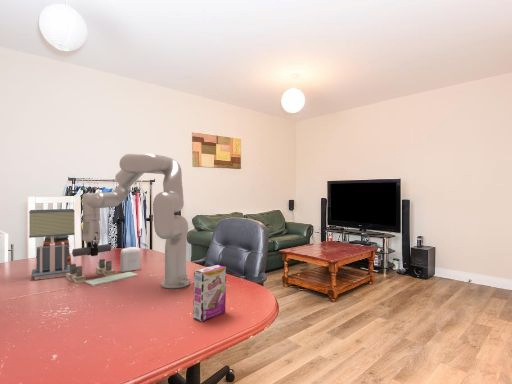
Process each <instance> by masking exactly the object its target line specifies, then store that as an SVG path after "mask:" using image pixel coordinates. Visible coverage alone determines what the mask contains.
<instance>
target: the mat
mask: <svg viewBox="0 0 512 384" xmlns="http://www.w3.org/2000/svg"><path fill="white" fill-rule="evenodd" d="M137 276H139V274H138V273H135V272H132V271H126V272H121V273H118V274H115V275H112V276H107V277H106V276H103V277H99V278H94V279H89V280H86V281H85V282H84V283H85V284H88V285H90V286H92V287H95V286H99V285H103V284H107V283H111V282H112V283H113V282H116V281H120V280H121V281H122V280H125V279H129V278H134V277H137Z"/></svg>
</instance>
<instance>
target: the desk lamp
mask: <svg viewBox="0 0 512 384" xmlns="http://www.w3.org/2000/svg"><path fill="white" fill-rule="evenodd" d="M28 214H29V216H28V217H29V221H28V222H29V224H28V226H29V229H28V230H29V233H28V234H29V235H28V237H29V239H31V238H34V239H35V238H45V237H49V236H51V243H50V246H44V247H43V243H39V246H37V247H36V268H33V269H31V276H30V278H33V277H34V281H38V280H37V279H41V280H47V279H46V278H49V279H54V278H55V277H57V278H63V277H66V273H70V264H69V265H67V245H64V242H62V245H56V246H55V243H54V236H65V235H68V236H75V209H73V208H65V209H64V208H57V209H30V210H29V212H28Z"/></svg>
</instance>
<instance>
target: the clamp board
mask: <svg viewBox="0 0 512 384" xmlns="http://www.w3.org/2000/svg"><path fill="white" fill-rule="evenodd" d="M98 261H99V267H98V266H97V267H95V273H96V274H98V275H101V276H103V277H107V276H112V275H116V270H115V269H113V268H112V266H113V265H112V263H113V262H112V260H106V258H99V259H98ZM105 262H106V267H105ZM69 265H70V272H69V273H66V276H65V279H66V280H68V281H70V282H72V283H74V284H81V283H85V281H87V280H86V279H87V276H86V275H84V274H83V266H82V265H78V266H77V264H76V263H71V264H69Z"/></svg>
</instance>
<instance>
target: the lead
mask: <svg viewBox="0 0 512 384" xmlns="http://www.w3.org/2000/svg"><path fill="white" fill-rule="evenodd" d="M110 251H112V246H111V244H110V243H107V244H101V245H100V244H98V254H100V253H104V252H110ZM71 254H72V255H71V256H72V257H73V258H75V257H82V256H89V255H88V254H91V247H79V248H74V249H72V251H71Z"/></svg>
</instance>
